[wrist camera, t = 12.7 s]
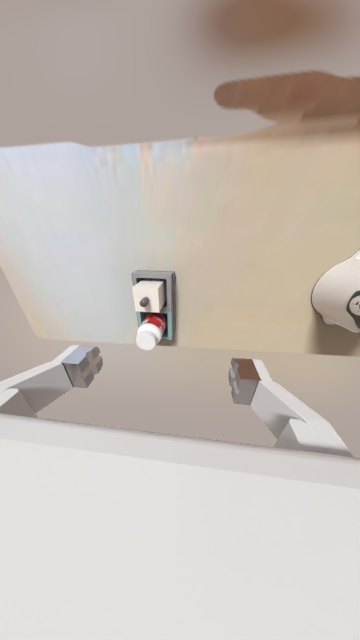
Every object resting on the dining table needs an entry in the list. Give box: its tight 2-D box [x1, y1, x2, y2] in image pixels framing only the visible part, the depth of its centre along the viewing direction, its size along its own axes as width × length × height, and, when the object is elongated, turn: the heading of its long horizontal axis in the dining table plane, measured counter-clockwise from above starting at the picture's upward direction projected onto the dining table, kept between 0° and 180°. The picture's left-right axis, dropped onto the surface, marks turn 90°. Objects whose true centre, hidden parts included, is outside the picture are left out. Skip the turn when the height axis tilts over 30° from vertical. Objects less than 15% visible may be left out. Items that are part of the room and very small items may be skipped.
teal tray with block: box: [131, 270, 175, 340], centre depth 40 cm, size 10×18×12 cm, turn 179°
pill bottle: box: [136, 313, 167, 350], centre depth 40 cm, size 6×6×11 cm
